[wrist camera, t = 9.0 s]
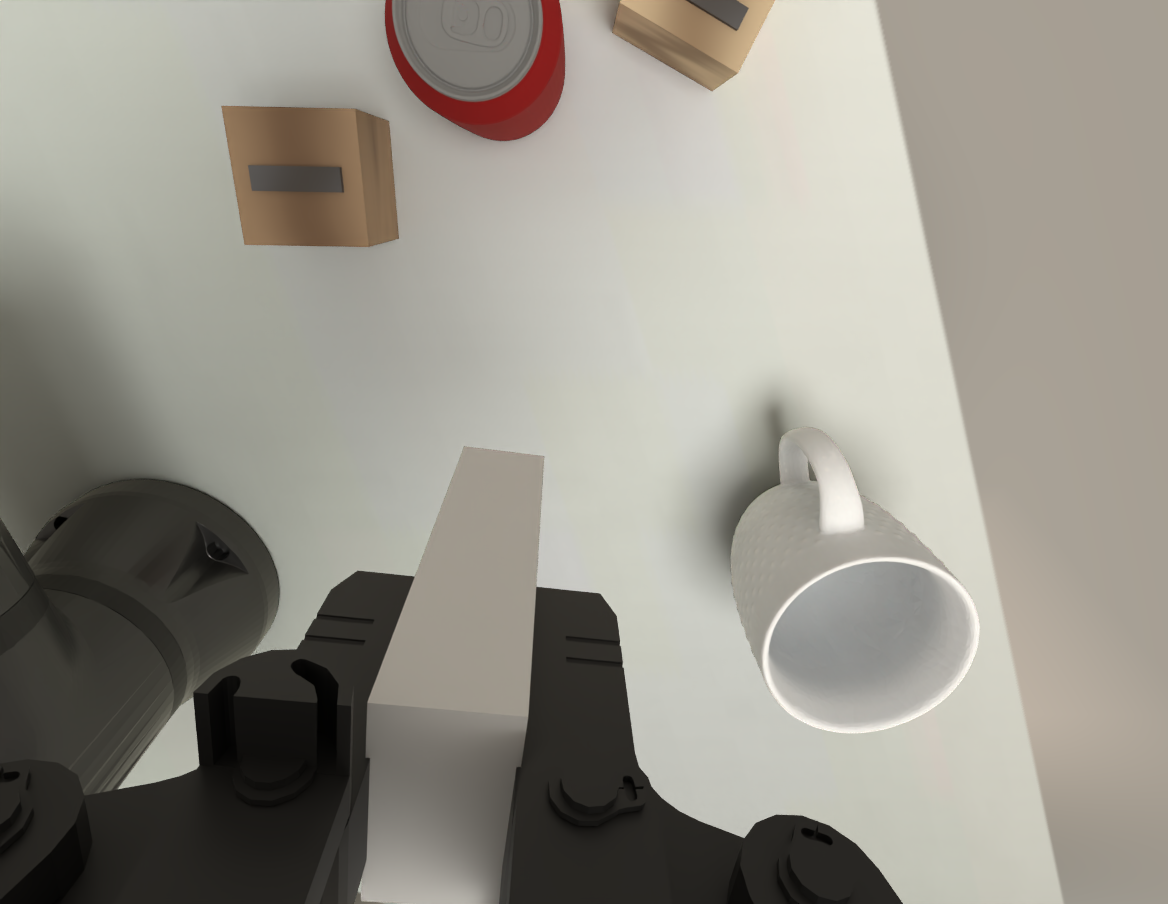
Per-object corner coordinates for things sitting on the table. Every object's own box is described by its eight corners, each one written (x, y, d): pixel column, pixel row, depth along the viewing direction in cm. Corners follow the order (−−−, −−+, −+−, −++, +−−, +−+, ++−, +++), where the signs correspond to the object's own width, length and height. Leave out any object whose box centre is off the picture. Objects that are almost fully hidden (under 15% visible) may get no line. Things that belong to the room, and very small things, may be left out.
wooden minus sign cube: (293, 236, 37) (241, 245, 32) (277, 119, 35) (218, 105, 29) (399, 238, 38) (367, 247, 32) (389, 121, 35) (352, 107, 29)
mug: (690, 415, 42) (738, 508, 30) (863, 380, 41) (986, 460, 29) (721, 607, 47) (772, 751, 35) (874, 578, 46) (981, 716, 34)
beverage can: (446, -21, 33) (381, -128, 22) (578, 14, 33) (580, -73, 22) (429, 125, 35) (362, 97, 24) (551, 155, 36) (542, 141, 25)
